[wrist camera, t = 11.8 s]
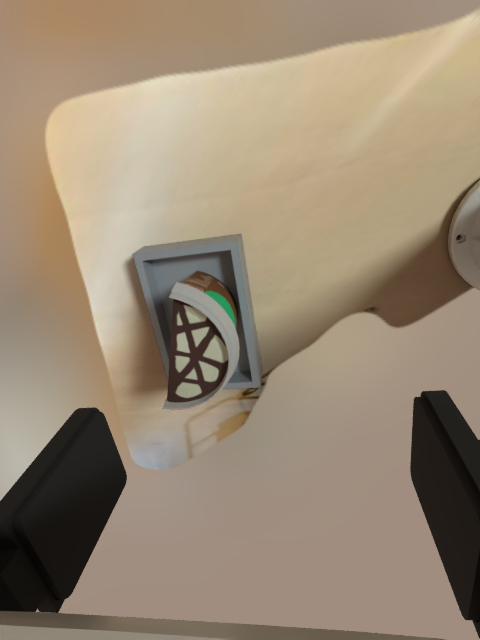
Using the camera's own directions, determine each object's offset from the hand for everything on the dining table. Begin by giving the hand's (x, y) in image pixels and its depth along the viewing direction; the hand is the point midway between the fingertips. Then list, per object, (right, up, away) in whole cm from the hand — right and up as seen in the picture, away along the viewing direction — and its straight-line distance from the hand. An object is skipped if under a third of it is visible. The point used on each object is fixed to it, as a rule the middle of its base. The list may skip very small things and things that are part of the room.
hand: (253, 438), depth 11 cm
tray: (-4, +4, +30) cm, 31 cm away
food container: (-3, +4, +29) cm, 30 cm away
